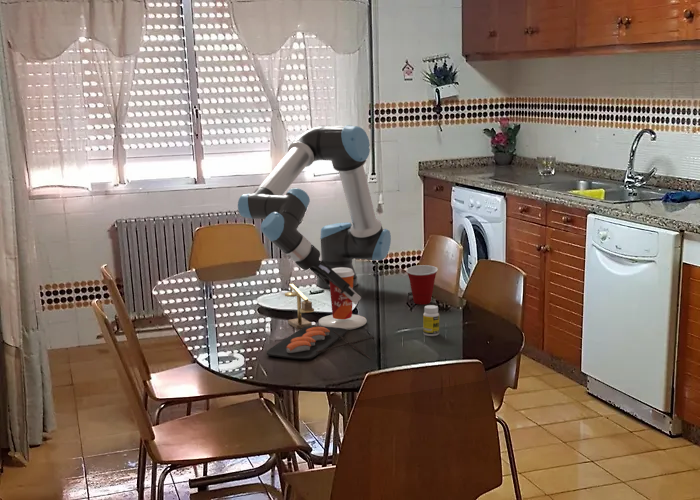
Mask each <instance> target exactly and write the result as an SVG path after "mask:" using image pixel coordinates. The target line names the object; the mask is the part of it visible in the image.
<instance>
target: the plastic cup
mask: <svg viewBox="0 0 700 500" xmlns="http://www.w3.org/2000/svg"><path fill="white" fill-rule="evenodd" d="M438 270H439V269H438V267H436V266H433V265H428V264H425V265H424V264H422V265H421V264H419V265H413V266H410V267H407V268H406V269H405V271H406V273H407V277H408V280H409V285H410V291H411V293H412V301H413V303H414V304H416V305H430V303H431V302H432V297H433V292H434V288H435V286H434V285H435V280H436V276H437V272H438Z"/></svg>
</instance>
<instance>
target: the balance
mask: <svg viewBox="0 0 700 500" xmlns="http://www.w3.org/2000/svg"><path fill="white" fill-rule="evenodd" d="M289 287H290V291H288V292H285V293H284V297H287V298H288V297H289V298H292V297H293V298H294V297H295V298H296V304H297V305H296V306H297V307H296V308H297V317H296V318H293V319H291V318H290V319H288V320H287V324H288V325H290V326H291V327H293V328H294V329H297V330H300V329H301V328H303V327H306V326H313V324H312V322H311V321H309V320H308V319H306V318H305V317H302V314H312V313H313V312H315V308H313V302H312V301H311V300H309V299H308V297H307V296H306V295H304V294H303V292H301V290H299V288H298V287H296V285H295V284H294V283H289Z"/></svg>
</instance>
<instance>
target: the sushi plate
mask: <svg viewBox="0 0 700 500" xmlns="http://www.w3.org/2000/svg"><path fill="white" fill-rule="evenodd" d="M347 333H348V330H346V329H343V328H336V327H326V326H320V325H312V326H306V327H303V328H301V329H297V331H295V332H294V333H292V334H291V335H289V336H287V337H286V338H285V339H283V340H281V341H280V342H278V343H276V344H275V345H273V346H272V347H270V348H269V349H268V350H267V351H266V355H267V356H271V357H276V358H284V359H294V360H310V359H313V358H315V357H316V356H318V355H319V354H321V353H322V352H324V351H329V350H333V349H337V348H341V347H344V346H351V347H352V348H353V349H354V350H356V351H357V352H358V353H360V354H361V355H362V356H364V357H366V358H367V359H369V360H370V361H374V359H373V358H372V357H370V356H369V355H368V354H366V353H365V352H363V350H361V349H359V348H358V347H357V346H355V345H354V344H358V343H361V342H364V341H367V340H370V339H373V338H374V336H370V337H367V338H363V339H359V340H353V341H352V342H351V341H348V340H347V339H346V338H344V336H345V335H346V334H347ZM339 339H342V340H343V341H345V342H346V343H343V344H340V345H336V346H332V345H333V344H334V343H335V342H337V341H338V340H339ZM330 346H332V347H330Z"/></svg>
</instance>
